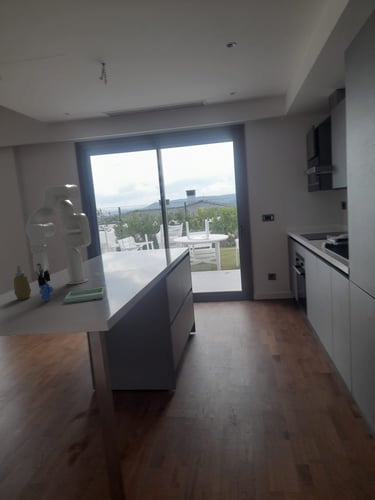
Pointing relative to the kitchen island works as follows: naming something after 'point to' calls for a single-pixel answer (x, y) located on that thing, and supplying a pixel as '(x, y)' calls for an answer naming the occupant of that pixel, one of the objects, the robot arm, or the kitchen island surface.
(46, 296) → the grapes
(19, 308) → the kitchen island surface
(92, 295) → the tray
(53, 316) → the kitchen island surface
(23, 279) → the squeeze bottle
